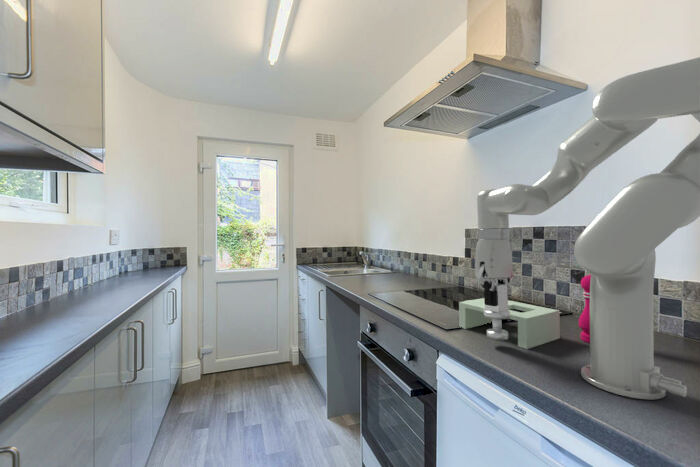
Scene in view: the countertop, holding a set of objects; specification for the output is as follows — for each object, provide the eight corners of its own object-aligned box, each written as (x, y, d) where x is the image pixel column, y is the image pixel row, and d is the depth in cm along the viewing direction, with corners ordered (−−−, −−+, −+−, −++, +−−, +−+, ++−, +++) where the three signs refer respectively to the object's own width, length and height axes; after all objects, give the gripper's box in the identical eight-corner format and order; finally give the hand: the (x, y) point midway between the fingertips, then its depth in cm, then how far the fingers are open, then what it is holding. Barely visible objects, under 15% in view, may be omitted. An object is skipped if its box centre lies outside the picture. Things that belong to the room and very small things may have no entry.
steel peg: (516, 337, 80) (514, 284, 80) (501, 342, 77) (498, 286, 77) (494, 331, 86) (492, 282, 86) (479, 335, 83) (477, 284, 83)
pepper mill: (581, 343, 83) (580, 270, 83) (576, 335, 90) (575, 267, 90) (615, 347, 80) (614, 271, 80) (607, 339, 86) (606, 268, 86)
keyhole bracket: (559, 338, 87) (559, 310, 87) (526, 349, 79) (526, 318, 79) (491, 319, 106) (490, 296, 106) (459, 327, 99) (459, 302, 99)
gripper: (500, 235, 89) (502, 298, 89) (460, 236, 81) (463, 305, 81) (525, 235, 83) (528, 302, 82) (485, 236, 75) (488, 311, 74)
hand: (496, 303), depth 82 cm, fingers closed on steel peg, 4 cm apart
